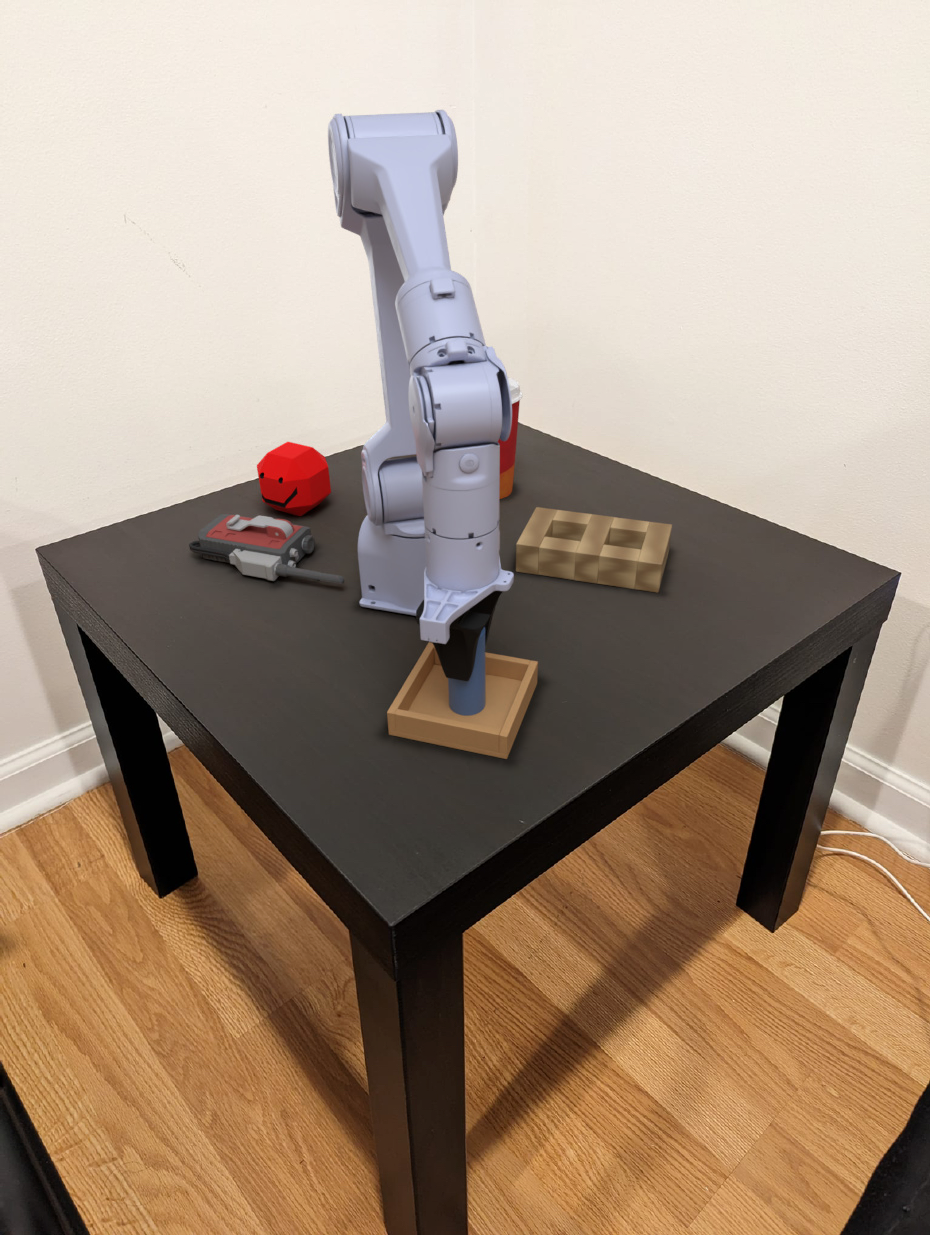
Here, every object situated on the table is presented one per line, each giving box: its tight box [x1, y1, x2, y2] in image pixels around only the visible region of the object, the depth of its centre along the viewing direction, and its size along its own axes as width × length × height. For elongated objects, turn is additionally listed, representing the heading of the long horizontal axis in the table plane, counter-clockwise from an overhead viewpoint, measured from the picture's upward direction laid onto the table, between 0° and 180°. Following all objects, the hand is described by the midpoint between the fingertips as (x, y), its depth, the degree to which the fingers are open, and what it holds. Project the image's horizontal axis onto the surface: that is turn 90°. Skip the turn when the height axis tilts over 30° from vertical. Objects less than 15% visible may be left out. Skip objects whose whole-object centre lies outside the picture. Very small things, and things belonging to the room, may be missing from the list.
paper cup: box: [498, 376, 523, 500], centre depth 108 cm, size 8×8×14 cm
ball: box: [256, 441, 332, 517], centre depth 107 cm, size 8×8×8 cm
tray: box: [386, 641, 539, 760], centre depth 76 cm, size 10×10×2 cm
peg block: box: [515, 506, 673, 594], centre depth 96 cm, size 16×9×4 cm, turn 72°
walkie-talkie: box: [188, 513, 345, 584], centre depth 97 cm, size 9×4×20 cm
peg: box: [448, 627, 486, 716], centre depth 74 cm, size 3×3×8 cm
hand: (464, 664), depth 74 cm, fingers closed on peg, 3 cm apart
